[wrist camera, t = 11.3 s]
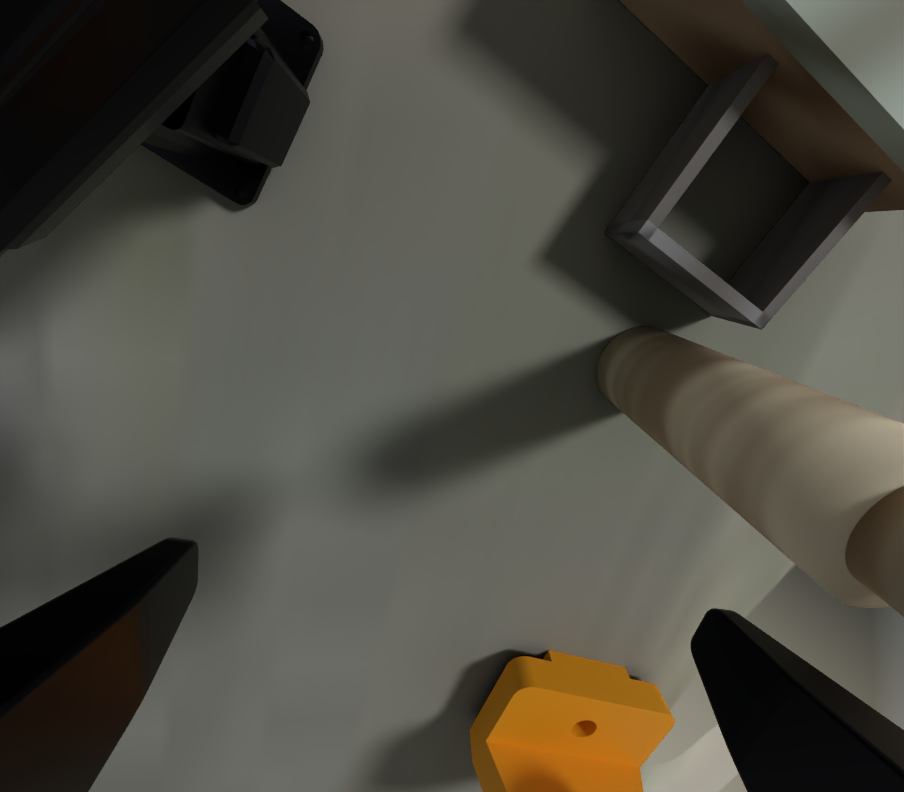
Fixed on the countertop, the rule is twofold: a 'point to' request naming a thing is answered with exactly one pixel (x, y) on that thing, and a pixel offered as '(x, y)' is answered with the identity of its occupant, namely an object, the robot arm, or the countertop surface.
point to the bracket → (567, 727)
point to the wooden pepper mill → (774, 457)
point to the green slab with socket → (777, 133)
